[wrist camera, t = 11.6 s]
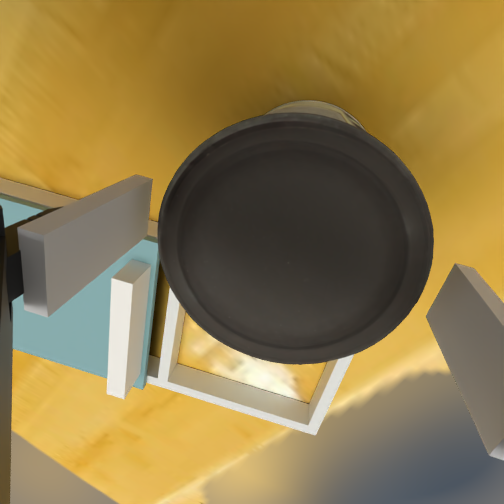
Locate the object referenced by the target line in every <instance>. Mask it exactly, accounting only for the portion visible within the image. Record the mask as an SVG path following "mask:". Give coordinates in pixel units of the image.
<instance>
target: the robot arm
mask: <svg viewBox="0 0 504 504" xmlns="http://www.w3.org/2000/svg"><path fill="white" fill-rule="evenodd" d="M152 180H153V179H151V178H147V177H144V176H140V175H134V176H131V177H129V178H127V179H125V180H122V181H120V182H118V183H116V184H113V185H111V186H109V187H107V188H104V189H102V190H100V191H98V192H96V193H93V194H91V195H89V196H87V197H84V198H82V199H80V200H78V201H75V202H73V203H71V204H69V205H66V206H62V207H57V208H51V209H47V210H45V211H42V212H40V213H38V214H36V215H33V216H31V217H28V218H27V220H26V219H24V220H21V221H19V222H17V223H14V224H12V225H10V226H7V227H5V226H4V217H3V208H2V206H1V205H0V504H10V470H11V469H10V467H11V411H12V351H13V304H12V301H13V300H15V299H16V298H18V297H19V296H21V295H22V294H23V301H24V310H25V311H28V312H32V313H35V314H38V315H41V316H44V317H49V316H50V315H51V314H53V313H54V312H55V311H56V310H58V309H59V308H60V307H61V306H62V305H64V304H65V303H66V302H67V301H68V300H70V299H71V298H72V297H73V296H75V295H76V294H77V293H78V292H79V291H81V290H82V289H83V288H84V287H85V286H87V285H88V284H89V283H90V282H92V281H93V280H94V279H95V278H96V277H98V276H99V275H100V274H101V273H102V272H104V271H105V270H106V269H107V268H108V267H110V266H111V265H112V264H113V263H115V262H116V261H117V260H118V259H119V258H121V257H122V256H123V255H124V254H125V253H127V252H128V251H129V250H130V249H132V248H133V247H134V246H135V245H136V244H138V243H139V242H140V241H141V240H142V239H144V238H145V237H146V236H147V231H148V221H149V211H150V200H151V190H152ZM426 318H427V320H428V323H429V325H430V327H431V329H432V331H433V334H434V336H435V338H436V340H437V342H438V345H439V347H440V349H441V351H442V353H443V356H444V358H445V360H446V362H447V364H448V367H449V369H450V371H451V373H452V375H453V378H454V380H455V382H456V384H457V386H458V389H459V391H460V393H461V395H462V397H463V400H464V402H465V404H466V406H467V408H468V411H469V413H470V415H471V417H472V419H473V421H474V424H475V426H476V428H477V430H478V433H479V435H480V437H481V439H482V441H483V443H484V445H485V448H486V450H487V452H488V454H489V456H492V457H496V458H499V459H502V460H504V303H503V302H502V301H501V299H500V298H499V297H498V296H497V295H496V294H495V292H494V291H493V290H492V289H491V288H490V287H489V285H488V284H487V283H486V282H485V281H484V279H483V278H482V277H481V276H480V275H479V274H478V272H477V271H476V270H475V269H474V268H471V267H467V266H464V265H460V264H457V263H455V264H454V266H453V268H452V270H451V272H450V273H449V275H448V277H447V279H446V281H445V282H444V284H443V286H442V288H441V290H440V291H439V293H438V295H437V297H436V299H435V300H434V302H433V304H432V306H431V308H430V309H429V311H428V313H427V315H426Z"/></svg>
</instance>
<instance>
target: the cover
mask: <svg viewBox="0 0 504 504" xmlns="http://www.w3.org/2000/svg"><path fill="white" fill-rule="evenodd" d="M0 205H1V206H2V208H3V217H4V226H5V227H7V226H10V225H12V224H14V223H17V222H19V221H21V220H24V219H26V220H27V218H28V217H31V216H33V215H36V214H38V213H40V212H42V211H45V210H47V209H50V208H47V207H43V206H40V205H36V204H33V203H29V202H26V201H22V200H19V199H15V198H12V197H8V196H5V195H1V194H0ZM159 261H160V256H159V250H158V239H155V238H151V237H148V236H146V237H145V238H144V239H142V240H141V241H140V242H139V243H138V244H136V245H135V246H134V247H133V248H132V249H130V250H129V251H128V252H127V253H125V254H124V255H123V256H122V257H121V258H119V259H118V260H117V261H116V262H115V263H113V264H112V265H111V266H110V267H108V268H107V269H106V270H105V271H104V272H102V273H101V274H100V275H99V276H98V277H96V278H95V279H94V280H93V281H92V282H90V283H89V284H88V285H87V286H85V287H84V288H83V289H82V290H81V291H79V292H78V293H77V294H76V295H75V296H73V297H72V298H71V299H70V300H68V301H67V302H66V303H65V304H64V305H62V306H61V307H60V308H59V309H58V310H56V311H55V312H54V313H53V314H51V315H50V316H49V317H44V316H41V315H38V314H35V313H32V312H28V311H25V310H24V301H23V294H22V295H21V296H19V297H18V298H16V299H15V300H13V301H12V304H13V349H16V350H19V351H22V352H25V353H28V354H31V355H35V356H38V357H41V358H44V359H47V360H50V361H54V362H57V363H60V364H63V365H66V366H69V367H73V368H76V369H79V370H82V371H85V372H88V373H92V374H95V375H98V376H101V377H104V378H107V394H109V395H112V396H115V397H119V398H122V399H125V397H126V396H127V394H128V392H129V391H130V389H131V388H132V386H133V387H136V388H139V389H142V390H143V388H144V387H145V385H146V376H147V368H148V359H149V350H150V341H151V332H152V323H153V314H154V305H155V297H156V288H157V279H158V270H159Z"/></svg>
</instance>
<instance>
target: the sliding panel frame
mask: <svg viewBox="0 0 504 504" xmlns="http://www.w3.org/2000/svg"><path fill="white" fill-rule="evenodd" d="M0 194H1V195H5V196H8V197H12V198H15V199H19V200H22V201H26V202H29V203H33V204H36V205H40V206H43V207H47V208H50V209H51V208H57V207H62V206H66V205H69V204H71V203H73V202H75V201H78V200H77V199H74V198H70V197H67V196H63V195H60V194H56V193H53V192H49V191H46V190H42V189H38V188H35V187H31V186H28V185H24V184H21V183H17V182H14V181H10V180H7V179H3V178H0ZM157 229H158V222H155V221H151V220H149V221H148V231H147V236H148V237H151V238H155V239H157ZM185 312H186V311H185V310H184V308H183V307H182V306H181V304H180V303H179V301H178V300H177V298H176V297H175V295H174V293H173V292H172V290H171V288H170V290H169V298H168V305H167V313H166V320H165V328H164V335H163V343H162V350H161V358H158V357H155V356H152V355H149V359H148V368H147V376H146V382H147V383H150V384H153V385H156V386H159V387H163V388H166V389H169V390H172V391H175V392H179V393H182V394H185V395H188V396H191V397H194V398H198V399H201V400H204V401H207V402H210V403H214V404H217V405H220V406H223V407H226V408H229V409H233V410H236V411H239V412H242V413H245V414H249V415H252V416H255V417H258V418H261V419H264V420H268V421H271V422H274V423H277V424H280V425H284V426H287V427H290V428H293V429H296V430H299V431H303V432H306V433H309V434H312V435H316V433H317V431H318V429H319V427H320V425H321V423H322V421H323V419H324V416H325V414H326V412H327V410H328V408H329V406H330V404H331V402H332V400H333V398H334V396H335V393H336V391H337V389H338V387H339V385H340V383H341V381H342V379H343V377H344V375H345V372H346V370H347V368H348V366H349V364H350V362H351V360H352V358H353V356H354V354H353V355H350V356H347V357H344V358H341V359H337V360H333V361H328V362H327V364H326V367H325V369H324V371H323V373H322V376H321V378H320V380H319V383H318V385H317V387H316V390H315V392H314V394H313V396H312V399H311V401H310V403H309V404H307V403H304V402H301V401H297V400H294V399H291V398H288V397H284V396H281V395H278V394H275V393H272V392H268V391H265V390H262V389H259V388H255V387H252V386H249V385H246V384H242V383H239V382H236V381H233V380H229V379H226V378H223V377H220V376H216V375H213V374H210V373H207V372H204V371H200V370H197V369H194V368H191V367H187V366H184V365H181V364H178V363H177V360H178V354H179V348H180V342H181V336H182V330H183V324H184V318H185Z"/></svg>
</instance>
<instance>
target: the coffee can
mask: <svg viewBox="0 0 504 504" xmlns="http://www.w3.org/2000/svg"><path fill="white" fill-rule="evenodd" d="M157 239H158V250H159V256H160V261H161V265H162V268H163V271H164V274H165V276H166V279H167V281H168V283H169V286H170V288H171V290H172V292H173V293H174V295H175V297H176V298H177V300H178V301H179V303H180V304H181V306H182V307H183V308H184V310H185V311H186V312H187V313H188V315H189V316H190V317H191V318H192V319H193V320H194V321H195V322H196V323H197V324H198V325H199V326H200V327H201V328H202V329H204V330H205V331H206V332H207V333H208V334H210V335H211V336H212V337H214V338H215V339H217V340H218V341H220V342H222V343H223V344H225V345H227V346H229V347H231V348H233V349H235V350H237V351H239V352H242V353H244V354H247V355H249V356H252V357H255V358H259V359H262V360H266V361H270V362H276V363H283V364H299V365H301V364H315V363H322V362H327V361H333V360H337V359H341V358H344V357H347V356H350V355H353V354H356V353H358V352H361V351H363V350H365V349H367V348H368V347H370V346H372V345H374V344H376V343H377V342H379V341H380V340H382V339H383V338H385V337H386V336H387V335H388V334H389V333H391V332H392V331H393V330H394V329H395V328H396V327H397V326H398V325H399V324H400V323H401V322H402V321H403V320H404V319H405V318H406V317H407V315H408V314H409V313H410V311H411V310H412V308H413V307H414V306H415V304H416V303H417V302H418V300H419V298H420V296H421V294H422V292H423V290H424V287H425V285H426V282H427V279H428V276H429V273H430V269H431V265H432V259H433V245H434V238H433V225H432V221H431V216H430V212H429V209H428V205H427V202H426V200H425V198H424V195H423V193H422V191H421V189H420V187H419V185H418V183H417V182H416V180H415V178H414V177H413V175H412V174H411V172H410V171H409V170H408V168H407V167H406V166H405V165H404V163H403V162H402V161H401V160H400V159H399V158H398V156H397V155H396V154H395V153H394V152H393V151H391V150H390V149H389V148H388V147H387V146H385V145H384V144H383V143H381V142H380V141H379V140H377V139H376V138H375V137H373V136H372V135H370V134H368V133H367V132H366V130H365V129H364V128H363V126H362V125H361V124H360V123H359V122H358V121H357V120H356V119H355V118H354V117H353V116H352V115H350V114H349V113H348V112H346V111H345V110H343V109H342V108H340V107H337V106H335V105H332V104H329V103H326V102H321V101H313V100H302V101H295V102H290V103H286V104H283V105H280V106H278V107H276V108H274V109H273V110H271V111H269V112H268V113H266V114H265V115H262V116H258V117H254V118H250V119H247V120H244V121H241V122H239V123H236V124H234V125H231V126H229V127H227V128H225V129H223V130H221V131H220V132H218V133H216V134H215V135H213V136H212V137H210V138H209V139H207V140H206V141H204V142H203V143H202V144H201V145H199V146H198V147H197V148H196V149H195V150H194V151H193V152H192V153H191V154H190V155H189V156H188V157H187V158H186V160H185V161H184V162H183V163H182V165H181V166H180V167H179V168H178V170H177V171H176V173H175V175H174V176H173V178H172V180H171V182H170V184H169V186H168V188H167V190H166V192H165V195H164V197H163V200H162V204H161V208H160V212H159V219H158V229H157Z"/></svg>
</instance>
